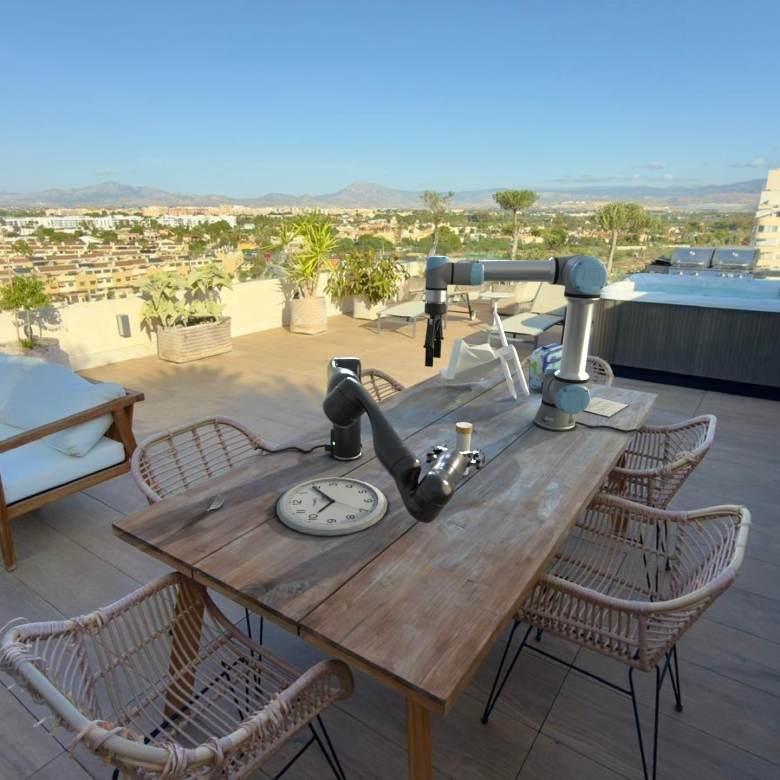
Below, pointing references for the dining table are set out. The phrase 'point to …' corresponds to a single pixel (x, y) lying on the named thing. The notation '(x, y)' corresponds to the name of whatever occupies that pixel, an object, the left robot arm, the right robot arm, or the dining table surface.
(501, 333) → the white plastic object
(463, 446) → the white cylinder
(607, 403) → the invitation card
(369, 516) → the wall clock
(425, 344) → the right robot arm
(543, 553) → the dining table surface
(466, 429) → the lid
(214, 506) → the fork
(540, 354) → the lunch box
